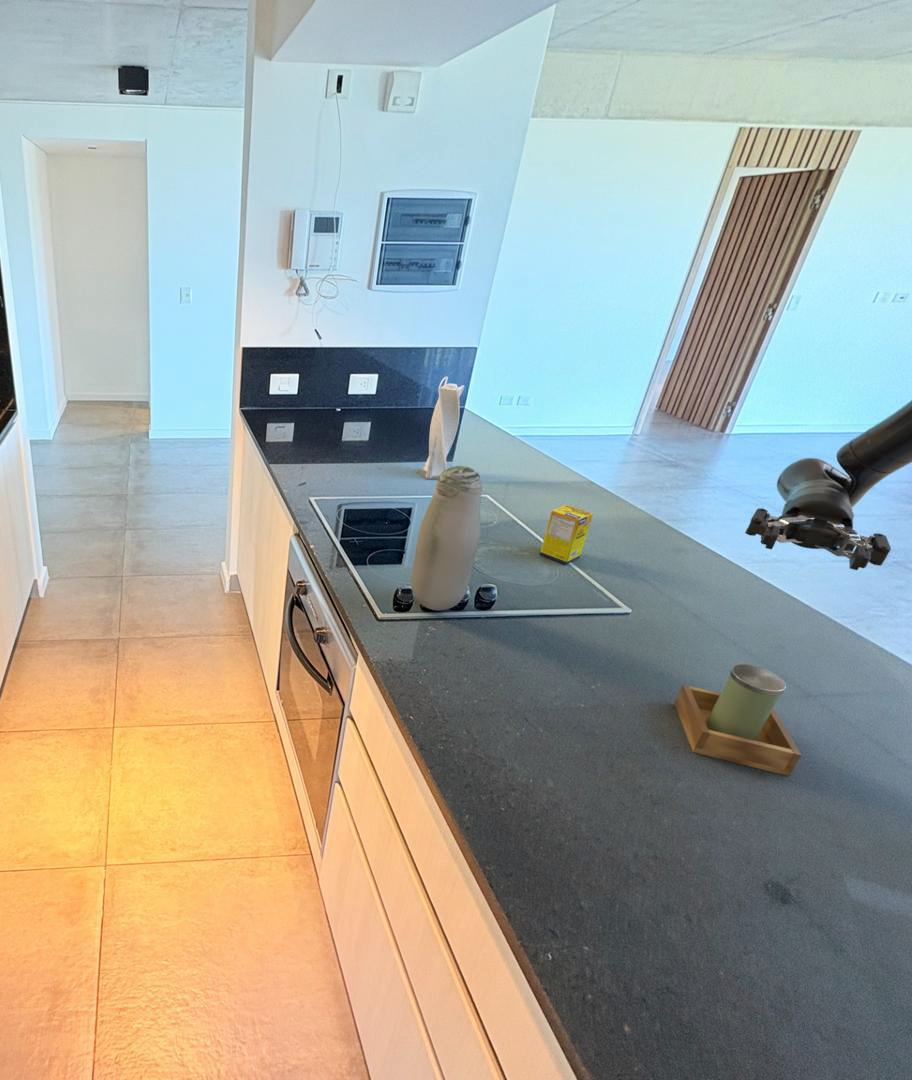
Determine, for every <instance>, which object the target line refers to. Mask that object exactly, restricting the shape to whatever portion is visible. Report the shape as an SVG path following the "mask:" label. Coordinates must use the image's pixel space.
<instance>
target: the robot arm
mask: <svg viewBox="0 0 912 1080" xmlns="http://www.w3.org/2000/svg"><path fill="white" fill-rule="evenodd" d="M836 461H837V463H838V464H839V466H840V467H841V469H842V470H843V471H844V472H845V473H846V474H845V473H844V472H843V471H841V470H840V469H838V468H837V467H834V466H833V465H831V463H828V462H827V461H825V460H823V459H820V458H817V457H806V458H800V459H798V460H795V461H793V462H791V463H790V464H788V465H787V466H786V467H785V468H783V470H782V471H781V473H780V475H779V476H778V478H777V479H776V490H777V492H778V494H779V495H780V496H781V498H782V500H783V501H784V502H785V503H784V506H783V508H782V513H781V515H780V516H779V517H778V516H777V517H776V516H772V515H771V513H770V512H769V511H768V509H766V508H762V507H761V508H759V507H758V508H757V509H756V511H754V513H753V515H752V517H751V519H750V522H749V524H748V526H747V528H746V530H745V532H744V534H746V535H747V536H751V537H754V536H756V535H759V536H760V544H761V545H764V546H765V549H768V550H773V549H774V546H775V544H776V542H778V543H781V544H784V543H792V544H793V545H795V546H798V547H800V548H805V549H811V550H826V551H827V552H828V553H830V554H833V555H834V556H836V557H844V558H847V559H848V561H849V562H848V563H849V569H850V570H853V571H858V570H859V568H860V569H866V568H867V566H868V565H869V563H870V565H874V566H878V567H879V566H883V564H884V563H885V560H886V559H887V557H888V555H889V554H890V552H891V550H892V548H891V545H890V542H889V540H888V538H887V536H886V535H885V534H882V533H876V532H875V533H873V535H869V536H864V535H860V534H859V533H858V532H857V531H856V530H854V529H853V528H854V516H855V514H854V512H853V507H855V506H856V505H857V504H858V503H859V501H861V500H862V498H863V497H864V496H865V495H866V494H868V492H869V491H870V490H871V489H872V488H873V487H876V485H878V484H879V482H881V481H882V480H884V479H885V478H886V477H888V476H890V475H891V474H893V473H895V472H897V471H899V470H900V469H902V468H904V467H906V466H908V465H910V464H911V463H912V399H911V400H910V401H908V402H907V403H906V404H904V405H903V406H902V407H901V408H899V409H897V410H896V411H895V412H893V413H892V414H890V415H889V416H887V417H885V418H884V419H883V420H881V421H880V422H878V423H876V424H875V425H873V426H871V427H870V428H868V429H866V430H865V431H863V432H862V433H860V434H859V435H857V436H856V437H854V438H852V439H850V440H849V441H848V442H846V443H845V444H844V445H842V446H841V447H840V448H839V449H838V450H837V451H836Z"/></svg>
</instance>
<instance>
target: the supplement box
mask: <svg viewBox="0 0 912 1080" xmlns="http://www.w3.org/2000/svg"><path fill="white" fill-rule="evenodd" d="M550 513H551V514H550V516H549V520H548V523H547V526H546V529H545V534H544V538H543V541H542V545H541V549H540V552H539V556H542V557H545V558H548V559H549V560H552V561H555V562H558V563H560V564H563V565H565V566H566V565H568V564H570V563H572V562H574V561H576V560H578V559H580V557H581V554H582V552H583V547H584V545H585V542H586V539H587V535H588V532H589V529H590V526H591V523H592V519H593V516H594V513H593V512H590V511H587V510H583V509H580V508H577V507H574V506H571V505H568V504H564V505H562V506H559V507H557V508H555V509H552V510H551V512H550Z"/></svg>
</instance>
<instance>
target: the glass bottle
mask: <svg viewBox="0 0 912 1080" xmlns="http://www.w3.org/2000/svg"><path fill="white" fill-rule="evenodd" d="M482 491H483V482H482V478H481V476H480V474H479V472H477V471H476V470H475V469H474V468H472V467H469V466H463V465H455V466H450V467H447V469H446V470H445V471H443V472H442V473H441V475H440V476H439V478H438V479H436V483H435V487H434V490H433V492H432V497H431V499H430V502H429V504H428V506H427V508H426V511H425V513H424V515H423V517H422V520H421V522H420V526H419V530H418V534H417V539H416V544H415V545H416V546H415V552H414V557H413V562H412V563H413V565H412V570H411V576H410V587H411V592H412V595H413V596H414V599H415V600H416V601H417V603H419V605H421V606H422V607H424V608H427V609H429V610H432V611H447V610H450V609H452V608H454V607H455V606H457V605H458V604H459V603H460V602H461V601H462V600H463V598H464V596H465V595H466V593H467V590H468V587H469V583H470V580H471V576H472V572H473V567H474V564H475V560H476V557H477V553H478V548H479V544H480V541H481V534H482V521H481V519H482V518H481V500H482Z"/></svg>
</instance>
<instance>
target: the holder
mask: <svg viewBox="0 0 912 1080" xmlns="http://www.w3.org/2000/svg"><path fill="white" fill-rule="evenodd" d="M720 694H721V692H719V691H714V690H710V689H706V688H701V687H696V686H691V685H687V684H682V686H681V688H680V690H679V692H678V694H677V697H676V699H675V701H674V703H673V705H674V708H675V710H676V713H677V715H678V718H679V721H680V723H681V725H682V727H683V731H684V733H685V736H686V738H687V741H688V743H689V746H690V749H691V750H692V753H694V754H699V755H703V756H708V757H709V758H710V757H711V758H715V759H718V760H723V761H727V762H731V763H734V764H739V765H742V766H747V767H751V768H755V769H759V770H761V771H762V770H763V771H766V772H770V773H775V774H778V775H783V776H786V777H790V775H791V774H792V772H793V771H794V769H795V768H796V766H797V764H798V763H799V760H800V759H801V757H802V753H801V751H800V750H799V748H798V746H797V745H796V743H795V742H794V740H793V738H792V737H791V734H790V733H789V731H788V730H787V728H786V726H785V725H784V722H783V721H782V719H781V718H780V716H779V715H778V713H777V711H776V710H775V707H774V708H773V709H772V711H771V713H770V715H769V717H768V718H767V720H766V722H765V724H764V726H763V727H762V729H761V731H760V733H759V735H758V736H757V738H756V740H755V741H754V740H750V739H746V738H741V737H737V736H733V735H729V734H725V733H720V732H716V731H712V730H708V728H707V726H706V722H707V720H708V718H709V716H710V714H711V712H712V710H713V708H714V706H715V704H716V702H717V700H718V698H719V696H720Z"/></svg>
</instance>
